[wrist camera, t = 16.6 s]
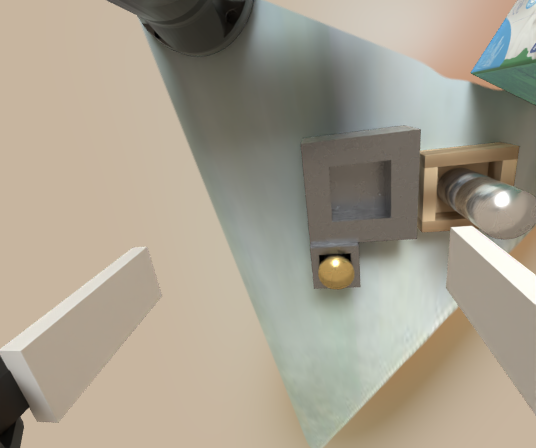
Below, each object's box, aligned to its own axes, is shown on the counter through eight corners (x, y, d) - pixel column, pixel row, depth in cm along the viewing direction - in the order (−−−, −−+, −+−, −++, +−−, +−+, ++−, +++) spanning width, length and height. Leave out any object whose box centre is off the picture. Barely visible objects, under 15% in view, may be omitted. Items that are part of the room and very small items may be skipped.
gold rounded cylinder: (317, 237, 44) (316, 259, 37) (348, 235, 43) (353, 257, 37) (319, 264, 45) (319, 289, 39) (349, 263, 44) (355, 288, 38)
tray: (415, 151, 40) (425, 155, 37) (500, 142, 38) (519, 145, 35) (413, 221, 44) (422, 232, 40) (490, 216, 42) (507, 227, 38)
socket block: (303, 137, 42) (300, 144, 34) (403, 125, 39) (423, 129, 32) (314, 260, 48) (314, 288, 41) (401, 256, 46) (417, 285, 38)
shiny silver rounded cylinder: (437, 169, 40) (483, 191, 29) (480, 165, 39) (544, 187, 28) (435, 205, 41) (477, 240, 30) (475, 203, 40) (534, 238, 29)
